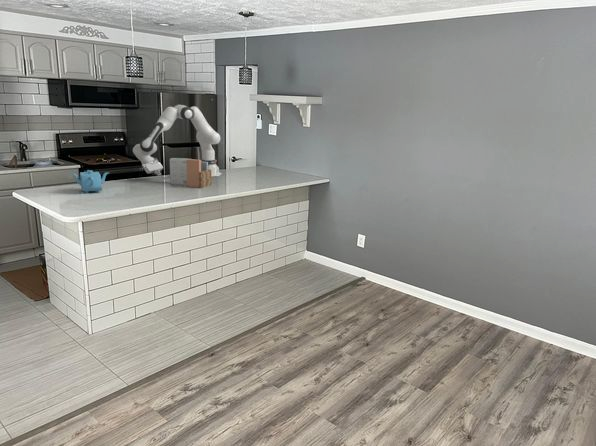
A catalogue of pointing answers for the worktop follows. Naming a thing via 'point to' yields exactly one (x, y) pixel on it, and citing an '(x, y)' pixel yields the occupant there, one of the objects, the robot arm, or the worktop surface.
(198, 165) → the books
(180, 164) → the hard drive box
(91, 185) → the teakettle
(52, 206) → the worktop surface
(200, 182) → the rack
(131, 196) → the worktop surface
